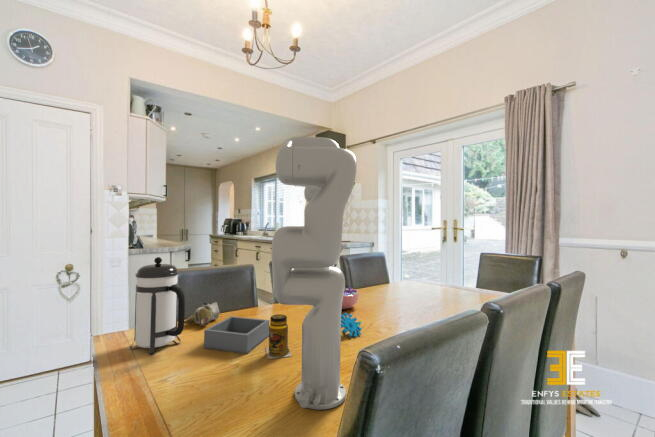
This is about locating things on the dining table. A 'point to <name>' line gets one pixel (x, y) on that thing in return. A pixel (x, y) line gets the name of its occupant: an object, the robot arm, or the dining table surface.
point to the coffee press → (158, 306)
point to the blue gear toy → (350, 325)
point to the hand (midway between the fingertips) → (320, 267)
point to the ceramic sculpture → (204, 314)
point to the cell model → (349, 298)
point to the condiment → (278, 337)
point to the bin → (236, 334)
